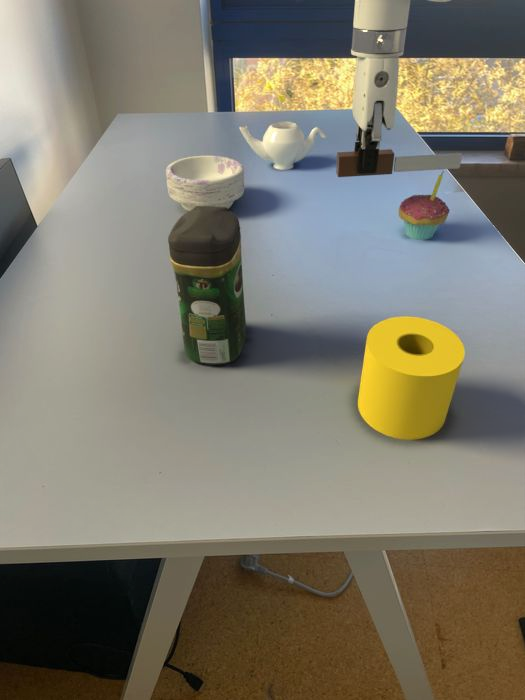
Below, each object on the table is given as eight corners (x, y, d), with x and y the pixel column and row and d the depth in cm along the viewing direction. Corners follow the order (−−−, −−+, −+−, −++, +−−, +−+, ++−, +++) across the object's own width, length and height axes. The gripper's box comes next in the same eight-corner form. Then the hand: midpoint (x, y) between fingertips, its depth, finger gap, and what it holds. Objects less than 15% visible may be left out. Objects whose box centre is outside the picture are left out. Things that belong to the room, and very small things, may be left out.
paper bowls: (257, 197, 108) (256, 159, 103) (223, 227, 97) (220, 186, 92) (194, 186, 113) (190, 149, 108) (155, 214, 103) (149, 174, 98)
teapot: (328, 172, 118) (330, 130, 113) (241, 175, 118) (239, 132, 112) (322, 158, 126) (324, 117, 120) (240, 160, 125) (239, 120, 120)
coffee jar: (196, 322, 74) (181, 198, 62) (250, 326, 73) (245, 200, 61) (177, 366, 67) (156, 234, 55) (238, 371, 66) (229, 238, 54)
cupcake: (448, 230, 95) (463, 165, 87) (435, 249, 89) (450, 182, 82) (403, 220, 98) (413, 157, 91) (387, 238, 93) (397, 172, 85)
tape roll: (355, 434, 57) (365, 370, 51) (359, 374, 65) (367, 312, 59) (449, 445, 56) (470, 381, 50) (441, 383, 63) (459, 321, 57)
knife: (338, 177, 85) (339, 156, 83) (336, 172, 87) (337, 152, 85) (461, 170, 85) (465, 149, 83) (456, 165, 87) (460, 144, 85)
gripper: (419, 51, 68) (398, 187, 80) (391, 33, 80) (376, 152, 92) (362, 53, 68) (350, 189, 79) (343, 34, 80) (334, 154, 92)
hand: (364, 168), depth 86 cm, fingers closed on knife, 2 cm apart
